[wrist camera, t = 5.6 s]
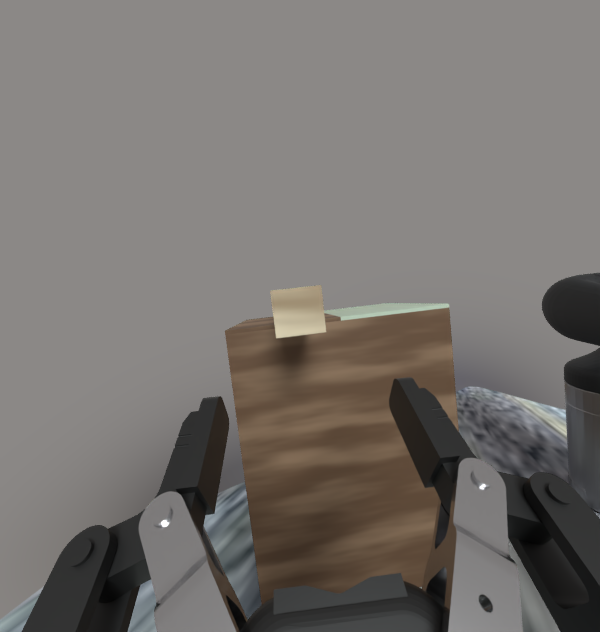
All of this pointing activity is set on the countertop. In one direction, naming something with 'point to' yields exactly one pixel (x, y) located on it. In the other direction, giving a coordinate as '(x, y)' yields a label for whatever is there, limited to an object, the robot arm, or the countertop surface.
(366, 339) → the walnut stand
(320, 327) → the beech baton
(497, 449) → the countertop surface
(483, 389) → the countertop surface
